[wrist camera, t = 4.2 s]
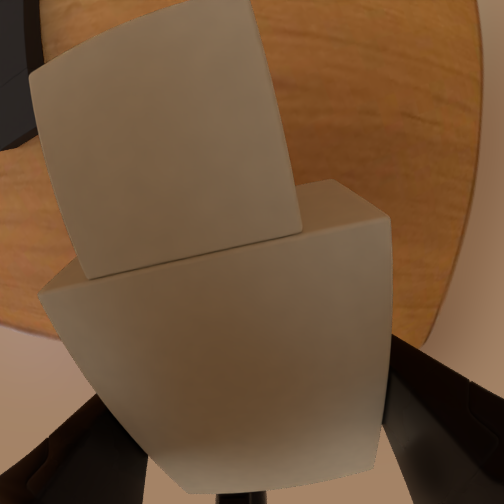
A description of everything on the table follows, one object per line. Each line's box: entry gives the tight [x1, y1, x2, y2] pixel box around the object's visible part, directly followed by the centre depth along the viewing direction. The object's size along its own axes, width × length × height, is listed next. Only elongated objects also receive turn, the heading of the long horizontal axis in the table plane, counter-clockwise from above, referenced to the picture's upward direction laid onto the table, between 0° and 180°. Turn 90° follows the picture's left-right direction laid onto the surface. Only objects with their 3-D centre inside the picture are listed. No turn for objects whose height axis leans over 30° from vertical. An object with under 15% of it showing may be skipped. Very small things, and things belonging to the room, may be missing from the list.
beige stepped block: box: [29, 0, 393, 494], centre depth 7 cm, size 12×6×3 cm, turn 13°
